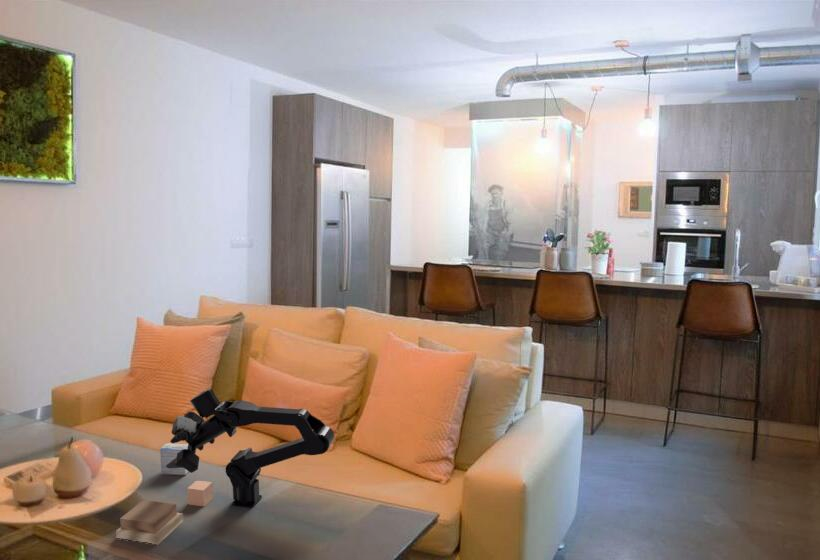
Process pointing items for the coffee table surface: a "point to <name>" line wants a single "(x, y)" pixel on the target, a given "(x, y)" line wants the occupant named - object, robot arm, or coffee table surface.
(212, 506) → the coffee table surface
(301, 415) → the robot arm
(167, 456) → the medicine box
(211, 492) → the terracotta block
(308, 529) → the coffee table surface
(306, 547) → the coffee table surface
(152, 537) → the birch slab
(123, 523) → the walnut slab
